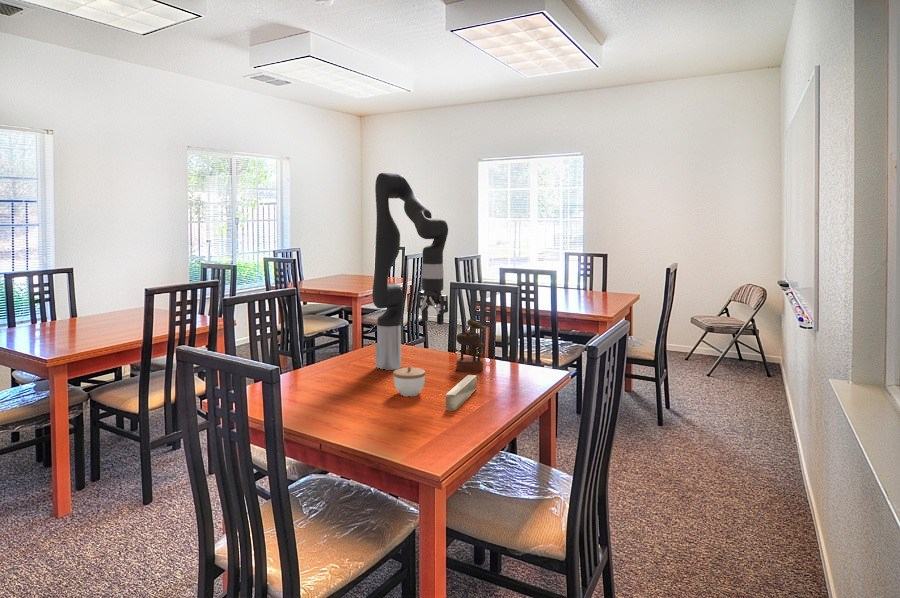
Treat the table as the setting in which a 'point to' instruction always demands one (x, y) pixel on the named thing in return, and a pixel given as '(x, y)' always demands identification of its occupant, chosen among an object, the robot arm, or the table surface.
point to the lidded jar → (409, 380)
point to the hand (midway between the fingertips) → (432, 322)
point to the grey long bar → (461, 392)
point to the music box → (469, 339)
